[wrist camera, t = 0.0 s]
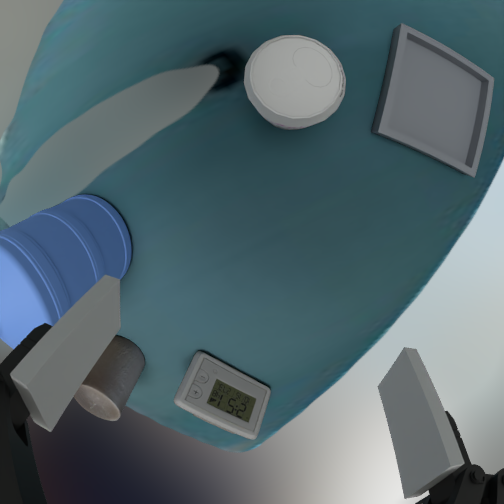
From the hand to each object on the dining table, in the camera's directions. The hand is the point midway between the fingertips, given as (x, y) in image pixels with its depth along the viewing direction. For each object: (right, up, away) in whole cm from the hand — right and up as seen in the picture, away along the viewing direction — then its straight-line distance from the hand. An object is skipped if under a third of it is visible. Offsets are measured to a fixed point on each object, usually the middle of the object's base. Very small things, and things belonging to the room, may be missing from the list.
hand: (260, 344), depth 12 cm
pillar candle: (-25, -16, +40) cm, 50 cm away
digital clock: (-4, -19, +39) cm, 43 cm away
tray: (+24, +24, +18) cm, 39 cm away
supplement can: (+4, +23, +21) cm, 31 cm away
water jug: (-26, +6, +31) cm, 41 cm away
